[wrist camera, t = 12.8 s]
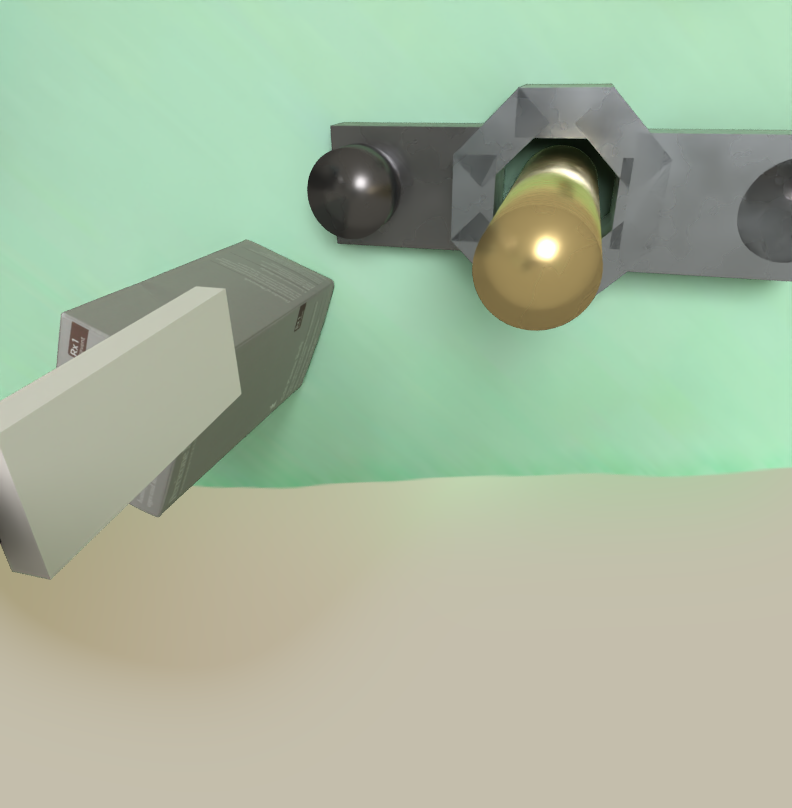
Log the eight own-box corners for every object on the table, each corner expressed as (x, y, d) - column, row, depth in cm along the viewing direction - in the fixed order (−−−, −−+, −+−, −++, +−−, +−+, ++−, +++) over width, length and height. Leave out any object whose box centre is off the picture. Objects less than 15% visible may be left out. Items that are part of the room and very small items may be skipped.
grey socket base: (339, 264, 37) (314, 284, 34) (329, 85, 33) (299, 88, 29) (794, 293, 32) (818, 321, 28) (858, 81, 27) (897, 84, 24)
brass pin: (515, 224, 34) (469, 325, 21) (521, 144, 32) (475, 202, 19) (592, 227, 33) (593, 335, 20) (603, 145, 31) (612, 207, 18)
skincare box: (304, 384, 42) (172, 535, 29) (210, 339, 43) (36, 468, 29) (341, 274, 38) (205, 393, 24) (236, 224, 38) (44, 315, 25)
